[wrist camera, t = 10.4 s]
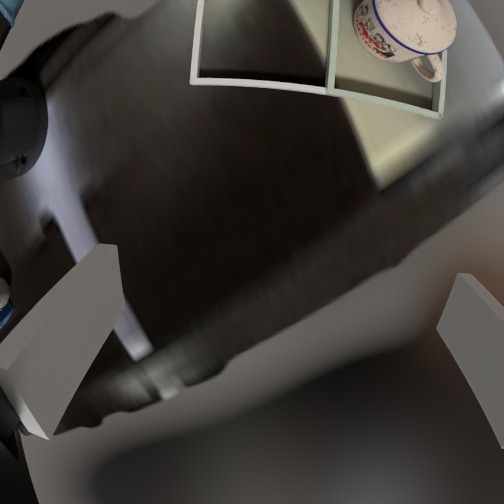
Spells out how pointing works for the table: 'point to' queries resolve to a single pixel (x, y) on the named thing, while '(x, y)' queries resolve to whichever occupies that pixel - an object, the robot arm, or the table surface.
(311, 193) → the table surface
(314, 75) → the table surface
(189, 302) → the table surface
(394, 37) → the teacup with lid
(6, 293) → the microphone
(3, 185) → the table surface
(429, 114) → the divided tray
